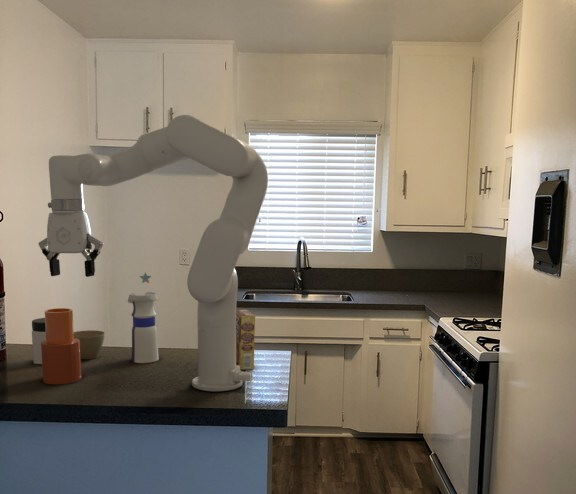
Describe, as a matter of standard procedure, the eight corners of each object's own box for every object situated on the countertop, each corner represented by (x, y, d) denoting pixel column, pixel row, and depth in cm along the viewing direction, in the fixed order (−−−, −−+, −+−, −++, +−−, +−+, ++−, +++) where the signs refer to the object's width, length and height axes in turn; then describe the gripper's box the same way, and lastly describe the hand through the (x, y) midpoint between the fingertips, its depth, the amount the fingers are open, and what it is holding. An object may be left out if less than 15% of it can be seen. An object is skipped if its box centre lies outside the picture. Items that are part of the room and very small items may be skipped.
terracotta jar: (88, 375, 164) (86, 338, 162) (68, 385, 155) (66, 346, 154) (57, 373, 166) (55, 336, 165) (35, 382, 157) (33, 344, 156)
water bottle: (126, 358, 183) (123, 273, 179) (154, 354, 187) (152, 271, 183) (133, 364, 176) (130, 276, 172) (163, 361, 180) (160, 274, 176)
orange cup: (78, 339, 162) (77, 308, 160) (64, 344, 155) (62, 313, 154) (56, 337, 163) (54, 307, 162) (41, 343, 157) (39, 311, 156)
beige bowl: (95, 362, 177) (94, 337, 176) (63, 360, 179) (61, 336, 178) (111, 354, 187) (110, 330, 186) (81, 352, 189) (80, 329, 188)
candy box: (255, 369, 172) (255, 314, 169) (240, 370, 170) (239, 315, 168) (248, 361, 180) (248, 309, 178) (233, 362, 179) (233, 309, 176)
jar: (58, 356, 184) (56, 316, 182) (70, 361, 179) (68, 320, 177) (28, 361, 178) (25, 319, 176) (39, 366, 173) (36, 324, 171)
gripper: (27, 207, 153) (33, 277, 156) (91, 206, 149) (95, 278, 152) (46, 207, 160) (51, 273, 163) (107, 206, 156) (111, 274, 159)
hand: (72, 275), depth 157 cm, fingers open, 9 cm apart
